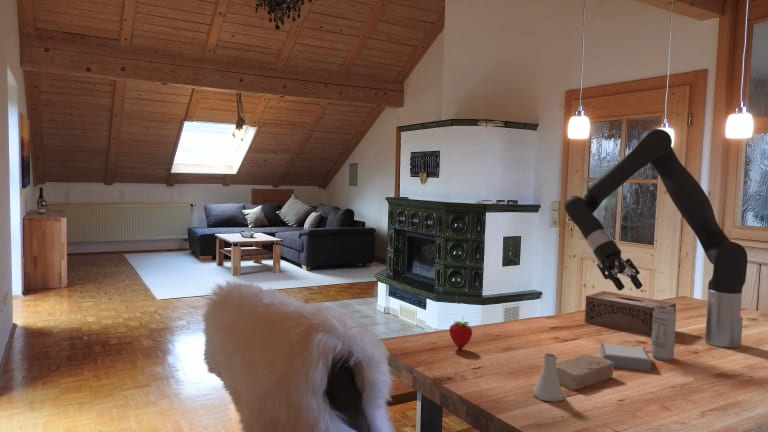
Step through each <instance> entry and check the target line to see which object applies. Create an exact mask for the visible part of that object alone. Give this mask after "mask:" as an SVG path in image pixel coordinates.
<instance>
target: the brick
mask: <svg viewBox="0 0 768 432" xmlns="http://www.w3.org/2000/svg"><path fill="white" fill-rule="evenodd" d="M613 366H614V363H613V362H612V361H610V360H607V359H604V358H601V356H600V357H599V356H594V355H590V354H588V353H587V354H586V353H585V354H582V355H579V356H576V357H575V358H572V359H568V360H563V361H558V362H557V363H556V371H557V375H558V379H559V382H560V386H561V387H562V386H563V387H565V388H567V389H569V390H573V391H576V390H580V389H583V388H585V387H589V386H591V385H595V384H598V383H601V382H604V381H607V380H608V379H610V378H612V377H613V375H614V368H615V367H613Z"/></svg>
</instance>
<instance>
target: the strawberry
mask: <svg viewBox="0 0 768 432" xmlns="http://www.w3.org/2000/svg"><path fill="white" fill-rule="evenodd" d="M464 317H465V316H464V315H463V317H462V320H461V321H458V320H457V321H455V320H454V321H453V322H454V323H452V324H451V325H450V326H449V331H448V332H449V335H450V338H451V340H452V342H453V343H454V345H455V346H456V348H457V349H458V350H463V348H464V347H465V346H466V345H467V344H469V342H470V340H471V339H472V336H473V330H472V328H471V326H470V324H469V323H470V322H469V321H463V320H464Z"/></svg>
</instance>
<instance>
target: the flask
mask: <svg viewBox="0 0 768 432" xmlns="http://www.w3.org/2000/svg"><path fill="white" fill-rule="evenodd" d="M542 355H543V359H544V361H543V362H544V363H543V366H542V370H541V372H540V375H539V377H538V379H537V382H536V384H535V386H534V388H533V396H534V397H536V398H537V399H539V400H541V401H545V402H555V403H556V402H561V401H565V396H564V392H563V390H562V385H560V382H559V379H558V375H557V371H556V362H557V359H558V355H557V354H555V353H550V352H546V353H543V354H542Z"/></svg>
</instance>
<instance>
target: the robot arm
mask: <svg viewBox="0 0 768 432" xmlns="http://www.w3.org/2000/svg"><path fill="white" fill-rule="evenodd" d="M672 143H673V141H672V136H671V134H670V133H669V132H667V131H666V130H664V129H662V128H661V129H660V128H651V129H647V130H646V131H644V132H643V133H642V134H641V135H640V136H639V138H638V142H637V144H636V145H635V146H634V147H633V148H632V149H631V150H630V151H629V152H628V153H627V154H626V155H625V156H624V157H623V158H621V159H620V160H619V161H617V162H616V163H615V164H614V165H612V166H610V167H609V168H608V169H606V170H605V171H604V172H602V173H601V174H600V175H599V176H598V177H597V178H595V179H594V180H593V181H592V182H591V183H590V184H589V185H588V186H587V187H586V191H587V193H586V194H584V196H583V197H581V196H578V195H571V196H569V197H567V198H566V200H565V202H564V210H565V212H566V214H567V216H568V217H569V219H570V220H571V221H572V222H573V223H574V224H575V226H577V228H578V230H579V231H580V233H581V234H582V237H583V238H584V239H585V241H586V242H587V245H588V247H589V248H590V250H591V252H592V253H593V254H594V256H595V258H596V259H597V261H598V262H597V263H596V266H597V269H598V270H599V271H600V273H601V275H602V277H603V278H604V279H605V280H609V281H610V282H612V283H613V285H614V287H615V288H616V289H617V291H622V290H624V289H625V288H626V287H625V285H624V283H623V282H622V280H621V278H620V277H619V276H618V274H619V275H622V276H624V277H627V278H628V279H629V280H630V281H631V283H632V285H633V286H634V288H635V289H636V290H641V288H642V287H643V286H644V285H643V284H642V282H641V280H640V279H639V277H638V275H640V274H641V272H640V270H638V267H636V265H635V264H634V262H633V261H632V259H630V258H627V259H625V260H624V259H623V257H622V256H621V255H622V250H621V249H620V247H619V246H618V244H617V243H616V241H615V240H614V239H613V237H612V236H611V234H610V233H609V232H608V231H607V230H606V228H605V227H604V225H603V224H602V222H601V221H600V220H599V219H598V218H597V217H596V216H595V215H594V213H595V212H596V210H598V209H599V207H600V206H601V205H602V202H604V201H605V200H606V199H607V198H609V197H610V196H611V195H612V194H613V193H614V192H616V191H617V190H618V189H619V188H620V187H621V186H623V185H624V183H626V182H627V181H629V179H630V178H632V176H634V175H635V174H636V173H638V172H639V171H640V170H641V169H642V168H645V167H646V166H648V165H649V164H651V165H652V167H653V168H654V170H655V171H656V173H657V174H658V176H659V177H660V180H661V182H662V184H663V186H664V188H665V190H666V191H667V194H668V196H669V197H670V199H671V200H672V203H673V204H674V206H675V207H676V208H677V211H678V212H679V213H680V214H681V216H682V217H683V219H684V220H685V222H686V224H688V226H689V227H690V228H691V230H692V231H693V233H694V234H695V236H696V237H697V239H698V242H699V243H700V245H701V248H702V249H703V252H704V253H705V255H706V259H708V261H709V262H710V264H712V265H713V268H712V269H713V270H712V276H711V278H710V279H709V281H708V284H707V300H706V301H707V302H706V315H705V316H706V318H705V332H704V337H705V338H704V342H705V343H706V344H708V345H712V346H716V347H721V348H729V349H730V348H731V349H732V348H742V337H743V333H742V332H743V317H742V316H741V314H742V302H743V301H742V300H743V299H742V298H743V287H744V286H745V283H746V279H747V278H746V277H747V269H748V252H747V250H746V248H745V247H744V246H743V245H742V244H741V243H738V242H736V241H731V240H730V239H729V237H728V236H727V234H725V233H724V231H723V230H722V228H721V227H720V225H719V223H718V221H717V219H716V215H715V213H714V212H715V211H714V209H713V205H712V203H711V200H710V198H709V197H708V195H707V194H706V192H705V191H704V189H703V188H702V185H700V183H699V182H698V181H697V179H696V178H695V177H694V176H693V175H692V173H690V171H689V170H688V169H687V168H686V167H685V166H684V165H683V164H682V162H681V161H680V159H679V158H678V157H677V155H676V153H675V150H674V149H673V146H672V145H673V144H672ZM606 272H607V273H606Z"/></svg>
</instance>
